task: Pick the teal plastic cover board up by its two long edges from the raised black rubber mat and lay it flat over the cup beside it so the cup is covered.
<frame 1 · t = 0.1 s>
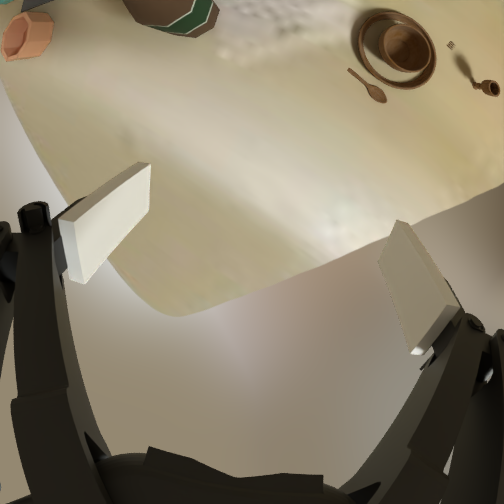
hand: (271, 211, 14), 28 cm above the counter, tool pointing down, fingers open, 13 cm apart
cup: (37, 35, 29), on the counter
beer bottle: (194, 16, 30), on the counter
place setting: (415, 69, 30), on the counter
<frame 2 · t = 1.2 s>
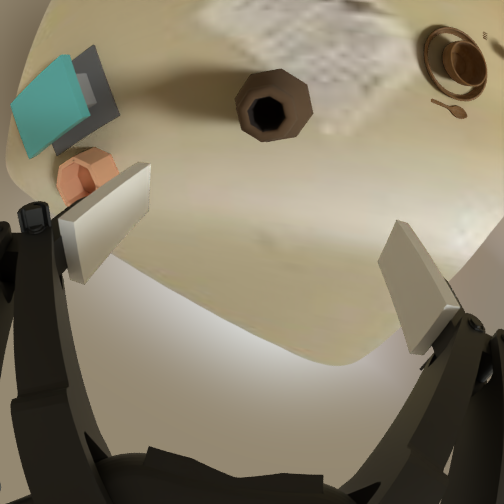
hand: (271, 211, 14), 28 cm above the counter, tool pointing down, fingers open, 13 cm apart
cover board: (49, 107, 32), point 6 cm above the counter, touching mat
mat: (72, 102, 37), on the counter
cup: (96, 173, 44), on the counter
beer bottle: (277, 100, 36), on the counter
place setting: (472, 73, 28), on the counter
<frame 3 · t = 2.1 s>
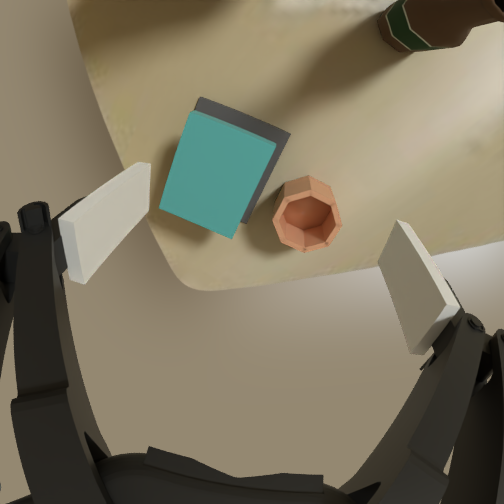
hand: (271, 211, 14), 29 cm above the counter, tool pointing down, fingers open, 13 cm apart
cover board: (215, 173, 37), point 6 cm above the counter, touching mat
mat: (224, 161, 42), on the counter
cup: (305, 205, 45), on the counter
beer bottle: (400, 30, 28), on the counter
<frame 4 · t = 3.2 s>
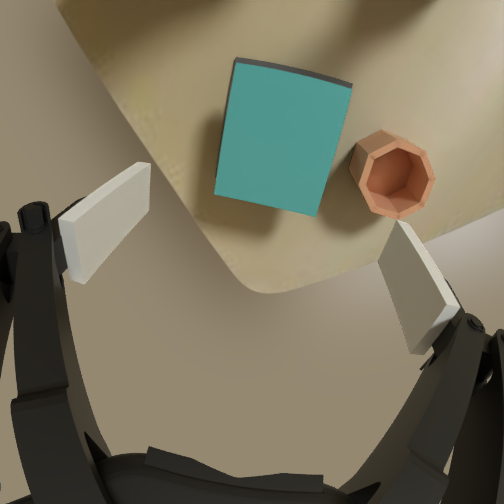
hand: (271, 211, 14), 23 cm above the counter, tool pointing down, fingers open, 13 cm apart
cover board: (280, 137, 28), point 6 cm above the counter, touching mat
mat: (281, 128, 33), on the counter
cup: (383, 165, 34), on the counter
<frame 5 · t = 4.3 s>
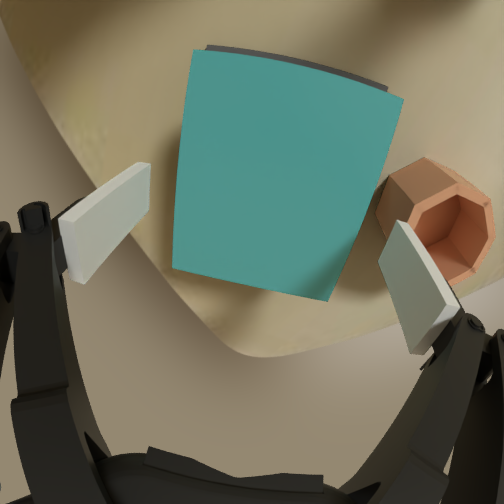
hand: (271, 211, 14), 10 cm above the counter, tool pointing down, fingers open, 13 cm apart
cover board: (274, 178, 17), point 6 cm above the counter, touching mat
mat: (277, 154, 22), on the counter
cup: (422, 208, 23), on the counter
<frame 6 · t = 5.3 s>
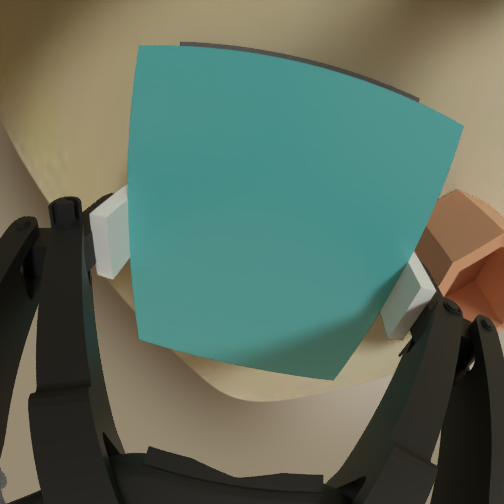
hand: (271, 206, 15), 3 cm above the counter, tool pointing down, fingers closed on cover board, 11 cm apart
cover board: (268, 233, 13), point 6 cm above the counter, touching gripper, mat
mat: (274, 186, 18), on the counter
cup: (449, 249, 18), on the counter
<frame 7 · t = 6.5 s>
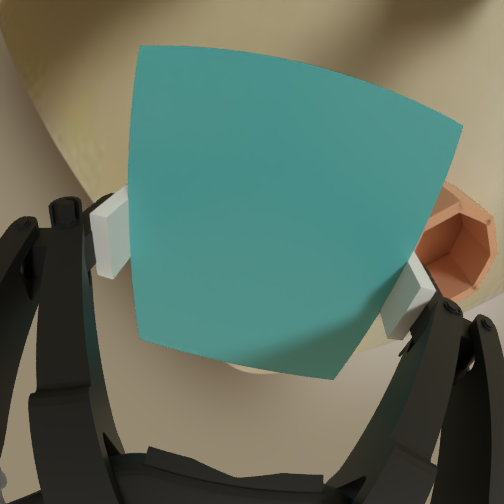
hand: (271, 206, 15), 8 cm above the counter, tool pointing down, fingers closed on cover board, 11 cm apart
cover board: (268, 233, 13), point 11 cm above the counter, touching gripper
cup: (424, 225, 23), on the counter
when the fingers open (4 cm above the counter, at t = 11.4 s): cover board drops 1 cm, resting on cup.
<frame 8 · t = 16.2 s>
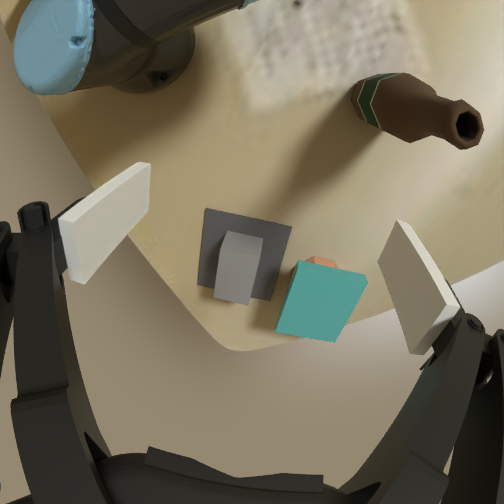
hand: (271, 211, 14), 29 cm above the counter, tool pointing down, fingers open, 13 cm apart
cover board: (318, 301, 47), point 6 cm above the counter, touching cup
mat: (240, 257, 51), on the counter
beer bottle: (375, 100, 34), on the counter
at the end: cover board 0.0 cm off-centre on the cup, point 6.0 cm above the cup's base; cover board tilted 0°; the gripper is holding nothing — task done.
